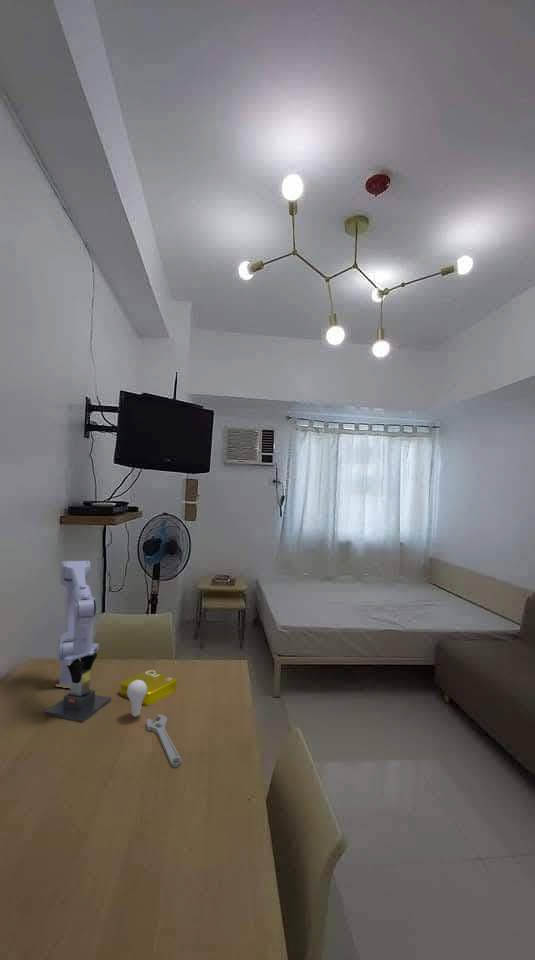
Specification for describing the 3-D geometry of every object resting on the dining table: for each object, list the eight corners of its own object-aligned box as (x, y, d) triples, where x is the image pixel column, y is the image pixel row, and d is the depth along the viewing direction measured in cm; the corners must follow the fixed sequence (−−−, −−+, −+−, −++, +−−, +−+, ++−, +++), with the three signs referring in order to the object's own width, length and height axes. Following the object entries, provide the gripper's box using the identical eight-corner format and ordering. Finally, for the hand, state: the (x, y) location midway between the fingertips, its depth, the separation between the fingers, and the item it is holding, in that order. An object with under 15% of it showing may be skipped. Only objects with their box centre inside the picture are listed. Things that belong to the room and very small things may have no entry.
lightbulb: (148, 712, 133) (150, 677, 133) (141, 722, 126) (143, 685, 127) (130, 710, 133) (132, 675, 134) (122, 720, 127) (124, 684, 128)
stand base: (75, 694, 142) (76, 679, 142) (111, 700, 139) (111, 686, 139) (44, 714, 129) (45, 698, 129) (82, 722, 125) (83, 705, 125)
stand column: (78, 692, 136) (79, 668, 137) (90, 694, 135) (91, 669, 136) (69, 698, 132) (71, 673, 133) (81, 700, 131) (82, 675, 132)
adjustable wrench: (182, 768, 107) (183, 761, 107) (157, 774, 104) (157, 766, 104) (165, 718, 130) (165, 713, 130) (144, 722, 127) (144, 716, 127)
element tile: (117, 695, 144) (117, 681, 144) (149, 679, 157) (150, 667, 157) (147, 707, 136) (148, 693, 136) (179, 690, 149) (179, 677, 149)
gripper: (78, 646, 127) (75, 691, 126) (107, 631, 141) (105, 672, 140) (58, 643, 128) (56, 687, 128) (89, 629, 142) (87, 669, 142)
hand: (80, 679), depth 134 cm, fingers closed on stand column, 4 cm apart
